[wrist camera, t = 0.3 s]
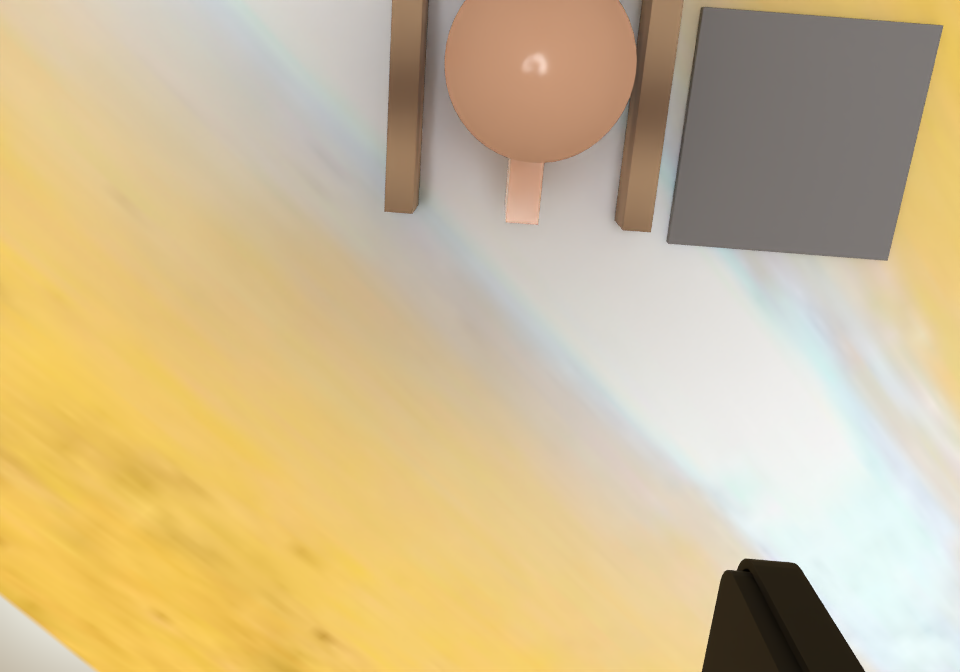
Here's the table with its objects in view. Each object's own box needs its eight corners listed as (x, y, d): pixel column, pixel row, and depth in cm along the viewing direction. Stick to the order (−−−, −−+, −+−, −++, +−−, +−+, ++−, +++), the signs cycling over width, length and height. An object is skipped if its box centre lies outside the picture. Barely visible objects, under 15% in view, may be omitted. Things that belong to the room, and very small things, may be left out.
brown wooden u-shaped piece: (404, -101, 32) (396, -115, 30) (682, -79, 32) (696, -92, 30) (392, 202, 36) (384, 211, 34) (640, 222, 36) (650, 232, 34)
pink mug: (464, -11, 33) (450, -48, 24) (606, 0, 33) (649, -33, 24) (452, 191, 36) (434, 231, 26) (583, 202, 36) (613, 245, 26)
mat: (701, 7, 33) (703, 6, 33) (938, 26, 33) (943, 25, 33) (666, 241, 36) (668, 243, 36) (883, 258, 36) (887, 260, 36)
